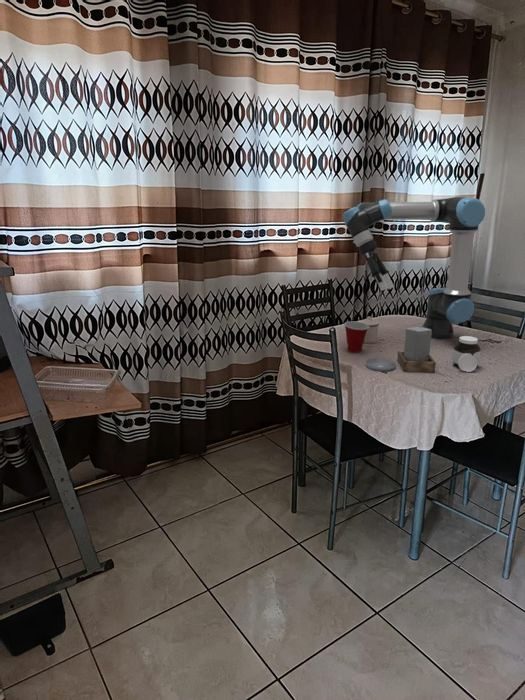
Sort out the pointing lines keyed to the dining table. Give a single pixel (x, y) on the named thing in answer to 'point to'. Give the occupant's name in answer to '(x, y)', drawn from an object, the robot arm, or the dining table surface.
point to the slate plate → (380, 364)
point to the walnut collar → (415, 364)
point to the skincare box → (417, 344)
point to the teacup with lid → (371, 330)
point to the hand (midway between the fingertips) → (388, 288)
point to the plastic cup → (355, 335)
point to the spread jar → (466, 353)
